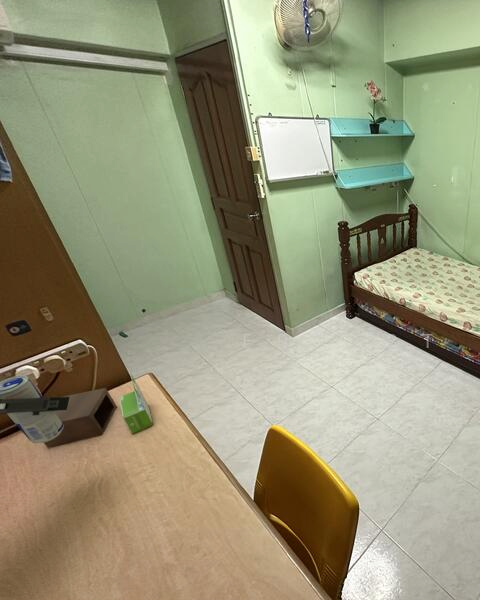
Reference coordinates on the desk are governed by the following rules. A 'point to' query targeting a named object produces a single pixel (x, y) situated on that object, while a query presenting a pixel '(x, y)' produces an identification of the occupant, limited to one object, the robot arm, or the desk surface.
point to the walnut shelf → (84, 416)
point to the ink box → (135, 410)
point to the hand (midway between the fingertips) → (51, 404)
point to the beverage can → (31, 425)
